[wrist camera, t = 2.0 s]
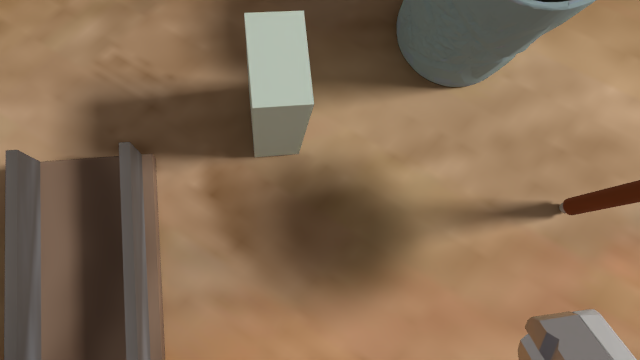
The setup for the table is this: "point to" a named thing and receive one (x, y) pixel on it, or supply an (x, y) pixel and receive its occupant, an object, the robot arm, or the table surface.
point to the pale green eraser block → (278, 81)
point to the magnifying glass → (602, 199)
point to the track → (82, 258)
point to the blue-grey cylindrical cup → (474, 34)
